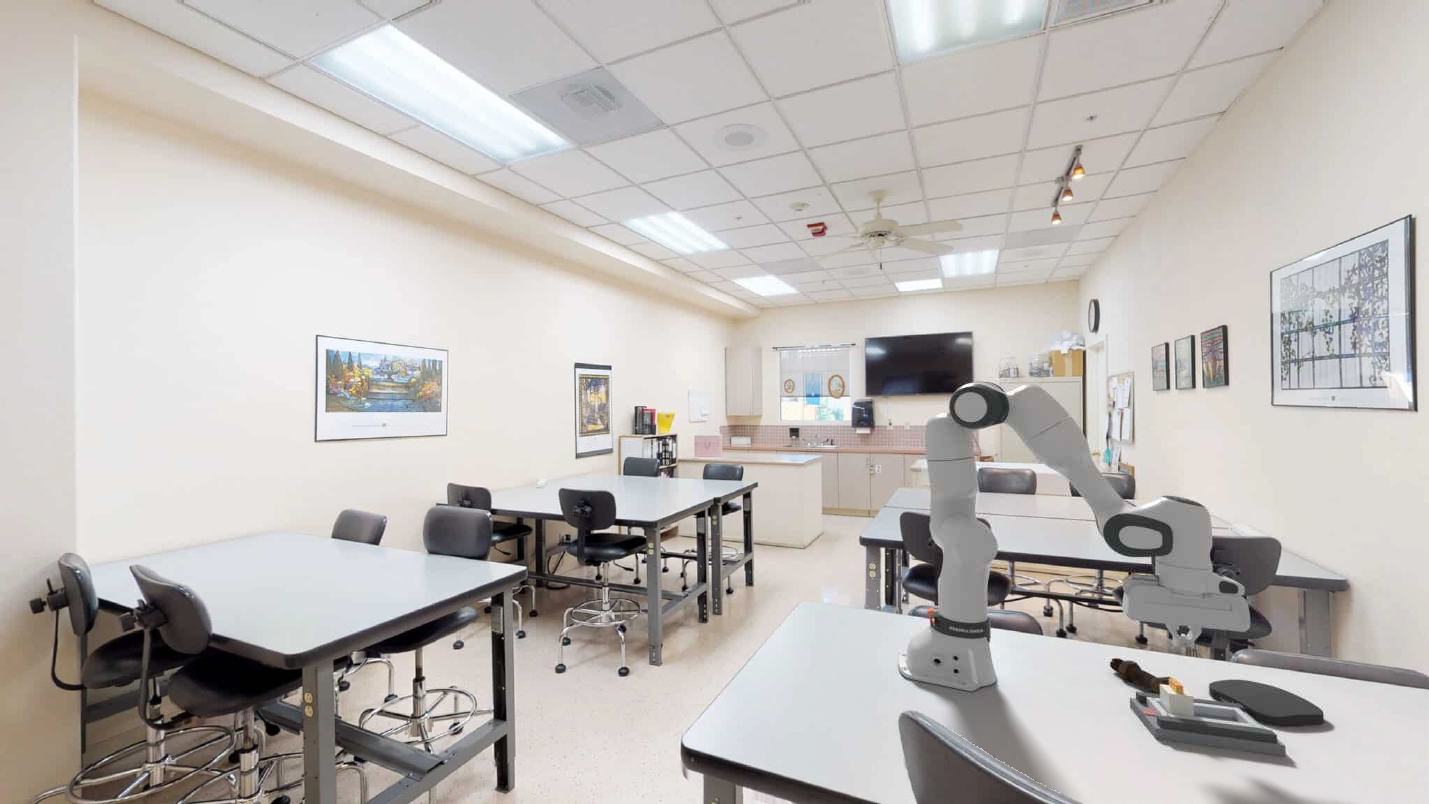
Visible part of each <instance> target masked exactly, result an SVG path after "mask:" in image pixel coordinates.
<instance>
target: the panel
mask: <svg viewBox="0 0 1429 804" xmlns="http://www.w3.org/2000/svg"><path fill="white" fill-rule="evenodd" d="M1193 702H1194V717H1192V716H1184V715H1176V714H1168V713H1167V712H1166V711H1165V710H1164V709H1163V708H1162V707H1161V706H1160V694H1154V693H1151V692H1150V693H1149V692H1141V691H1135V698H1133V697H1129V707H1130V710H1132V712H1133V713H1134V714H1135V715H1136V717H1138V719H1139V720H1140V721H1141V722H1142V724H1143V725H1144V727H1145V728H1146V729H1147V730H1148V731H1149V732H1150V734H1151V735H1152V736H1153V738H1154V739H1156V740H1162V741H1168V742H1169V741H1171V742H1176V743H1177V742H1179V743H1184V744H1193V745H1199V746H1206V747H1211V748H1212V747H1215V748H1220V749H1228V750H1235V751H1243V752H1249V753H1255V754H1256V753H1258V754H1264V755H1265V754H1266V755H1271V756H1279V757H1286V756H1287V755H1286V745H1285V743H1283V742H1281V741H1280V740H1279V738H1278V735H1277V734H1276V733H1275V732H1274V731H1273V730H1271V729H1267V728H1266V727H1265V726H1264V725H1262V724H1261V723H1260V722H1258V721H1256V720H1254V719H1253V718H1252V717H1251V716H1250V715H1249V714H1247V713H1246V712H1245V708H1244V707H1243V706H1242V705H1241V704H1236V703H1228V702H1220V701H1217V700H1208V699H1203V698H1202V699H1200V698H1194V697H1193Z"/></svg>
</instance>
